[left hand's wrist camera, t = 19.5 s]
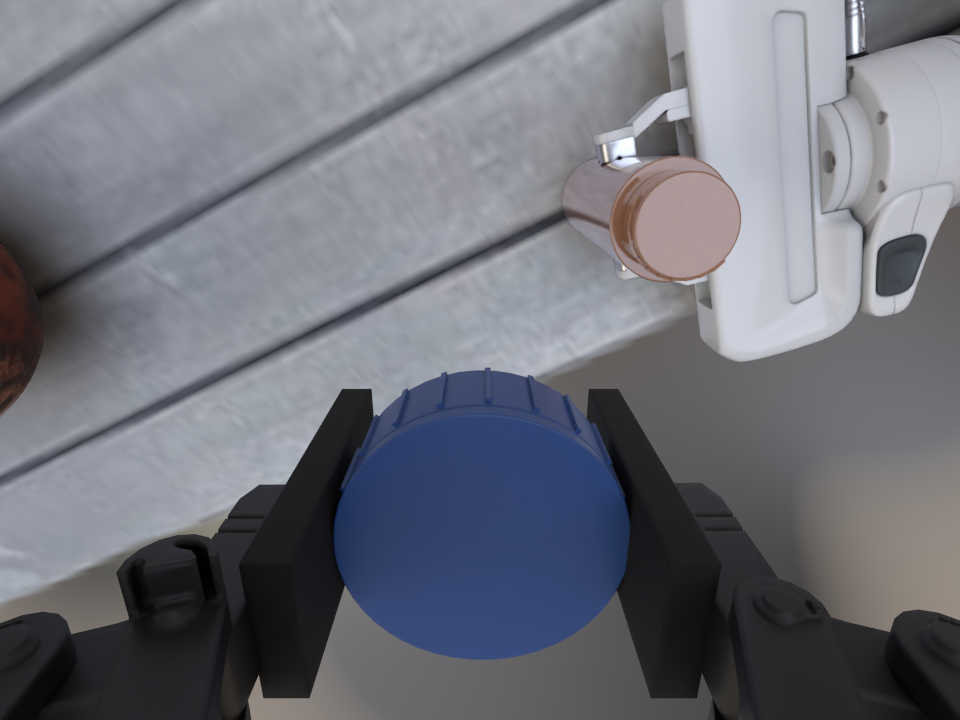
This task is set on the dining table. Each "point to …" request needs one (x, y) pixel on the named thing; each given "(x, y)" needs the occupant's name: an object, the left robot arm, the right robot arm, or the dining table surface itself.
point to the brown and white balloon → (17, 330)
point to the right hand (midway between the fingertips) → (606, 210)
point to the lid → (482, 518)
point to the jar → (655, 214)
